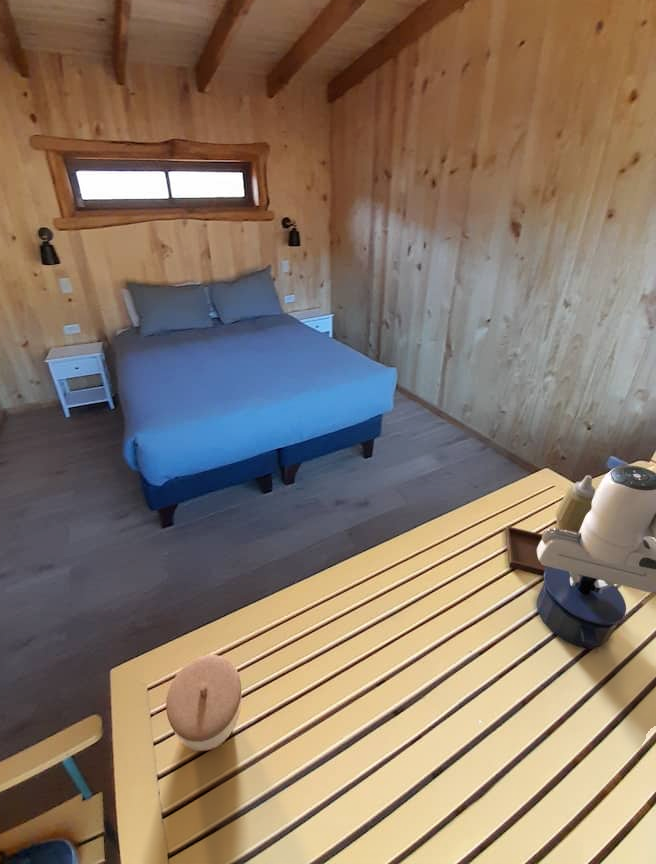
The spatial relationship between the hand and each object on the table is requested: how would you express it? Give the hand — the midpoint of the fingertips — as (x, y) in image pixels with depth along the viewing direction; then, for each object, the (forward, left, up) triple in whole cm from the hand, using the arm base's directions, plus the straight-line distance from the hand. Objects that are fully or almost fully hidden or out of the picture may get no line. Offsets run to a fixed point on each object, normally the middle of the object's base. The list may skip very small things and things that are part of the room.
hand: (584, 587), depth 84 cm
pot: (0, 0, -10) cm, 10 cm away
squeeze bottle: (-5, -29, -10) cm, 31 cm away
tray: (+3, -16, -10) cm, 19 cm away
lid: (0, 0, -1) cm, 1 cm away
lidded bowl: (+65, +44, -10) cm, 79 cm away
